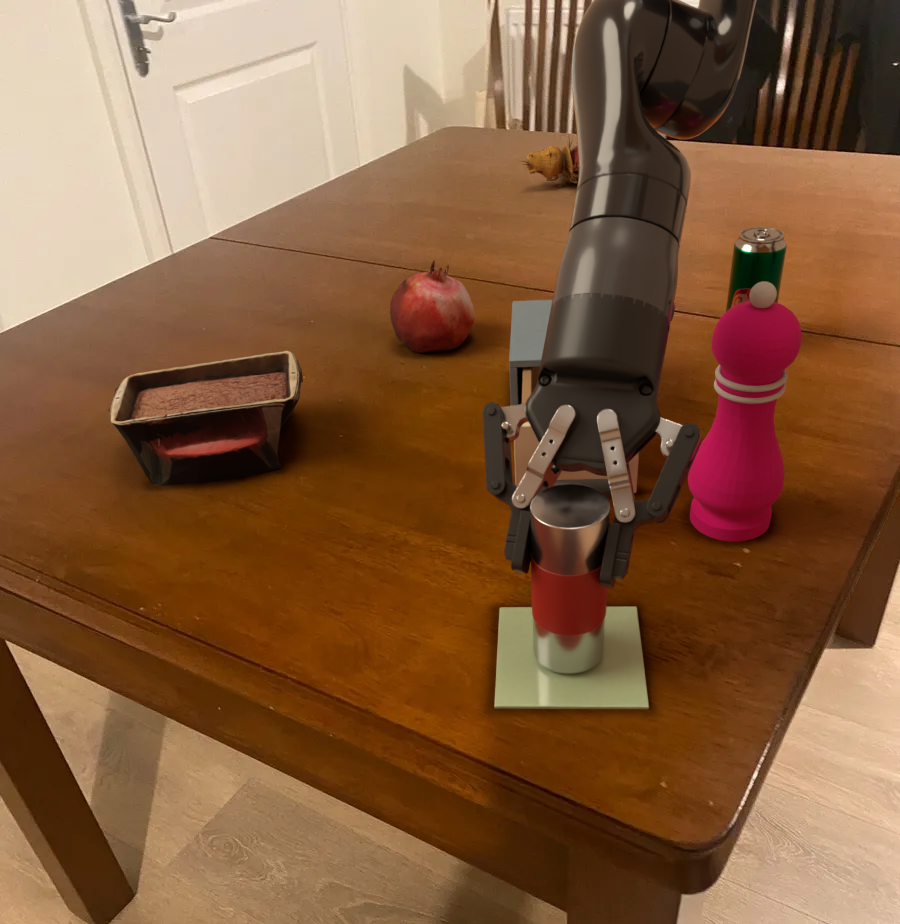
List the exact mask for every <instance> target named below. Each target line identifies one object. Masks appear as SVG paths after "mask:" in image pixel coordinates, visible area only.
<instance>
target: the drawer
mask: <svg viewBox="0 0 900 924" xmlns="http://www.w3.org/2000/svg"><path fill="white" fill-rule="evenodd" d="M539 370H540V367H523V381H522V404H526V401H527V399H528V398H529V396H530V395H531V394H532V393H533V391H534V389H535V387H536V385H537V381H538V375H539ZM538 445H539V442H538V440H537V438H536V436H535V434H534V432H533V430H532V428H531V426H530V424H529V422H526V423H524V424H523V425H522V426H521V428H520V433H519V436H518V438H517V439H515V440H514V441H513V448H514V449H513V453H514V455H513V456H514V480H515V481H514V483H515V484H514V485H516V486H518V485H519V483H520V481H521V480H522V478H523V476H524V474H525V472H526V470H527V465H528V463H529V461H530V459H531V457H532V455H533V454H534V452H535V450H536V448H537V447H538ZM544 456H545V455H544ZM639 459H640V452H639V453H638V454H637V455H636V456H635V457H634V458H633V459H632V460H631V461H630V462H629V467H630V472H631V478H632V483H633V489H634V494H636V493H637V490H638V473H639ZM552 467H554V465H553V466H552ZM563 484H578V485H584V486H588V487H591V488H594V489H596V490H598V491H600V492H601V493H603V494H604V495H605V496H606V497H607V498H608V497H611V498H612V495H611V490H610V485H609V482H608V477H607V476H600V475H596V474H593V473H591V472H588V471H585V470H584V471H577V472H568V471H561V473H560V475H559V477H558V478H557V480H556V482H555V484H554V485H553V486H557V485H563ZM553 486H552V487H553Z"/></svg>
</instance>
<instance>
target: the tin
mask: <svg viewBox="0 0 900 924" xmlns="http://www.w3.org/2000/svg"><path fill="white" fill-rule="evenodd" d="M530 514H531V562H530V587H531V588H530V589H531V592H530V593H531V607H532V615H533V650H534V655H535V657H536V659H537V660H538V661H539V662H540V664H542V665H543V666H544V667H546V668H547V669H550V670H552V671H555V672H559V673H566V674H573V673H580V672H583V671H586V670H589V669H591V668H592V667H594V666H595V665H596V664H597V663H598V662H599V661H600V660H601V658H602V656H603V652H604V631H605V616H606V607H607V606H608V605H607V604H608V602H607V601H608V587H605V586H601V585H600V584H599V579H600V572H601V567H602V561H603V556H604V550H605V544H606V539H607V533H608V527H609V523H611V503H610V500H609V499H608V497H606V496H605V495H604V494H603V493H601V492H600V491H598V490H596V489H594V488H591V487H588V486H584V485H578V484H563V485H557V486H553V487H550V488H547V489H545V490H543V491H541V492H540V493H538V494H537V495H536V496H535V497H534V499H533V500H532V502H531V506H530Z"/></svg>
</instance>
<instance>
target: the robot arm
mask: <svg viewBox="0 0 900 924" xmlns="http://www.w3.org/2000/svg"><path fill="white" fill-rule="evenodd" d="M757 1H758V0H698V6H697V7H695V6H693V5H691V4H690V3H686V2H685V1H683V0H592V2H591V3H590V4H589V6H588V8H587V9H586V11H585V12H584V14H583V16H582V18H581V20H580V23H579V26H578V29H577V32H576V35H575V39H574V40H575V41H574V45H573V49H572V58H571V59H572V60H571V87H572V88H571V91H572V92H571V93H572V103H573V111H574V119H575V129H576V147H577V148H578V163H579V176H578V180H577V181H578V183H577V186H576V190H575V196H574V201H573V208H572V213H571V218H570V223H569V229H568V235H567V238H566V239H567V240H566V242H565V246H564V249H563V251H562V252H563V253H562V256H561V257H560V262H559V265H558V269H557V274H556V277H555V278H556V279H555V284H554V289H553V294H552V299H551V300H552V305H551V310H550V316H549V321H548V326H547V332H546V337H545V343H544V348H543V354H542V359H541V364H540V370H539V375H538V381H537V385H536V387H535V389H534V391H533V393H532V394H531V395H530V396H529V398H528V399H527V401H526V404H519V405H512V406H511V405H505V406H500V405H499V403H497V402H495V401H490V402H487V403H486V404H485V405H484V406H483V408H482V429H483V431H482V432H483V448H484V449H483V450H484V467H485V468H484V469H485V471H484V472H485V487H486V491H488V493H489V494H490V495H492V496H493V497H494V498H495V499H496V500H497V501H499V502H501V503H504V504H506V505H508V506H509V509H510V516H509V523H508V528H507V533H506V539H505V544H504V549H503V553H504V557H505V560H506V561H508V562H510V563H511V564H510V567H511V568H510V569H511V571H514V572H515V573H518V574H528V573H529V571H530V568H531V514H530V506H531V502H532V500H533V499H534V497H535V496H536V495H537V494H538V493H540V492H541V491H543V490H545V489H547V488H550V487H552V486H553V485H554V484H555V482H556V480H557V478H558V477H559V475H560V473H561V471H568V472H577V471H584V470H585V471H588V472H591V473H593V474H596V475H600V476H607V477H608V482H609V485H610V490H611V495H612V497H611V500H612V506H613V511H614V517H613V522H610V523H609V527H608V533H607V539H606V544H605V550H604V556H603V561H602V567H601V572H600V579H599V584H600V585H601V586H605V587H607V588H611V589H614V588H615V585H616V580H622V581H623V580H624V579H625V577H626V575H627V574H628V572H629V566H630V561H631V555H632V551H633V546H634V545H633V544H634V538H635V535H636V531H637V530H638V529H639V528H640V527H642V526H645V525H650V524H663V523H665V522H666V521H668V519H669V518H670V516H671V513H672V511H673V509H674V506H675V505H676V502H677V500H678V497H679V495H680V493H681V491H682V488H683V486H684V483H685V481H686V480H687V478H688V474H689V470H690V468H691V466H692V463H693V461H694V459H695V457H696V454H697V452H698V450H699V448H700V445H701V443H702V441H701V440H702V439H701V438H702V437H701V431H700V428H699V426H698V425H697V424H695V423H693V422H687V423H684V424H681V423H678V422H676V421H672V420H670V419H667V418H664V417H662V416H661V412H660V409H659V406H658V396H659V390H660V384H661V378H662V373H663V367H664V362H665V357H666V351H667V346H668V340H669V334H670V328H671V322H672V321H673V319H674V315H675V311H676V304H675V303H676V302H675V301H676V294H677V288H678V287H677V286H678V279H679V277H678V275H679V274H678V273H679V254H680V249H681V243H682V236H683V231H684V226H685V220H686V215H687V214H686V213H687V209H688V203H689V196H690V191H691V182H692V173H691V168H690V165H689V162H688V159H687V158H686V156H685V155H684V154H683V153H682V152H681V151H680V149H678V148H677V147H676V146H675V145H674V144H673V143H671V142H670V140H668V139H666V138H665V137H664V136H667V137H670V138H672V139H673V138H674V139H678V140H689V139H693V138H696V137H698V136H700V135H702V134H703V133H704V132H706V131H707V130H709V129H710V128H711V127H712V126H713V125H714V124H715V123H716V122H717V121H718V120H719V119H720V118H721V117H722V115H723V114H724V113H725V111H726V110H727V108H728V106H729V105H730V103H731V101H732V99H733V96H734V94H735V93H736V90H737V87H738V84H739V81H740V78H741V74H742V71H743V66H744V62H745V58H746V53H747V48H748V42H749V38H750V32H751V27H752V22H753V18H754V13H755V9H756V4H757ZM662 135H664V136H662ZM526 422H529V424H530V426H531V428H532V430H533V432H534V434H535V436H536V438H537V440H538V442H539V445H538V447H537V448H536V450H535V452H534V454H533V455H532V457H531V459H530V461H529V463H528V465H527V470H526V472H525V474H524V476H523V478H522V480H521V481H520V483H519V485H518V486H516V485H515V484H514V482H513V481H514V480H513V464H512V463H513V462H512V443H511V442H514V440H515V439H517V438H518V436H519V433H520V428H521V426H522V425H523V424H524V423H526ZM656 436H657V437H659V438H660V440H661V443H660V451H661V455H662V457H663V458H665V459H666V460H665V462H664V464H663V466H662V468H661V471H660V473H659V476H658V478H657V480H656V482H655V485H654V487H653V488H652V491H651V494H650V496H649V498H648V499H644V500H639V501H636V497H635V493H634V489H633V483H632V478H631V472H630V467H629V462H630V461H631V460H632V459H633V458H634V457H635V456H636V455H637V454H638V453H639V454H640V452H641V451H642V450H643V449H644V448H645V447H646V446H647V445H648V444H649V443H650V442H651V441H652V440H653V439H654V438H656ZM544 455H545V456H544ZM553 465H554V467H552V466H553Z"/></svg>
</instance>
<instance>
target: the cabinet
mask: <svg viewBox="0 0 900 924" xmlns="http://www.w3.org/2000/svg"><path fill="white" fill-rule="evenodd" d="M551 305H552V299H531V300H513V301H512V305H511V323H510V339H509V355H508V356H509V357H508V368H509V369H508V370H509V373H508V374H509V399H510V400H509V401H510V402H509V403H510V406H512V405H519V404H522V381H523V367H540V364H541V359H542V354H543V348H544V343H545V337H546V332H547V326H548V321H549V316H550V310H551Z"/></svg>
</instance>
